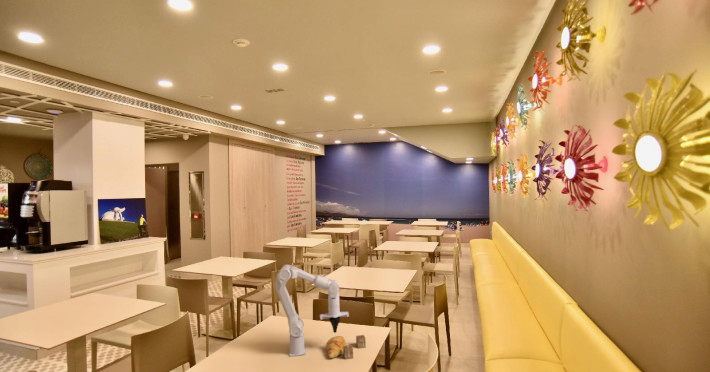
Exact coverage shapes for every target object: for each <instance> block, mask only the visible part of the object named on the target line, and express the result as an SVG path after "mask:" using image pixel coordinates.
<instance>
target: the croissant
mask: <svg viewBox="0 0 710 372" xmlns="http://www.w3.org/2000/svg"><path fill="white" fill-rule="evenodd" d="M346 343H347V342H346V340H345V338H344V337H343V336H341V335H337V336H334V337H331V338H329V339H328V340H327V342H326V344H325V346H326V351H327V354H328V357H329V359H334V358H337V357H339V356H340V355H342V354H344V352H343V346H345V345H347V344H346Z"/></svg>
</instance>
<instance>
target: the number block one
mask: <svg viewBox="0 0 710 372" xmlns="http://www.w3.org/2000/svg"><path fill="white" fill-rule="evenodd" d="M353 349H354V348H353V346H352V344H346V345H345V346H343V352H344V353H343V358H344V360H345V361H346V360H351V359H354V350H353Z"/></svg>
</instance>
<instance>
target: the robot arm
mask: <svg viewBox="0 0 710 372" xmlns="http://www.w3.org/2000/svg"><path fill="white" fill-rule="evenodd" d="M296 278H300V279H302V280H305V281H308V282H311V283H312V284H313V285H314V287H316V288H319V289H322V290H324V291H327V292H328V296H327V301H328V302H327V303H328V304H327V306H328V309H327V310H328V312H326V313H322V314H319V319H320V320H325V319H329V322H330V324H331V327H332V330H333V333H337V330H338V327H339V323H340V322H341V318H343V317H346V318H348V317H350V314H349V311H340V310H341V309H340V306H341V304H340V283H339V282H338V281H337V280H336V279H332V278H327V277H324V274H317V275H314V274H311V273H309V272H307V271H305V270H304V269H300V268H299V267H296V266H294V265H291V264H283V265H282V267H281V268H280V270H279V271H278V272H277V274H276V279H275V284H274V289H275V290H276V294H277V295H278V298H279V300H280V304H281V305H282V308H283V311H284V313H285V315H286V318H287V325H288V329H289V330H288V334H289V348H288V350H289V357H294V356H295V357H297V356H303V355H306V354H307V352H306V346H305V332H304V331H303V328H304V326H305V325H304V324H305V323H304V321H303V319H301V318H300V315H299V314H298V313H297V311H296V309H295V306H294V304H293V301H292V298H291V295H290V294H289V291H288V289H287V286H286V285H287V283H288V281H289V280H290V279H296Z"/></svg>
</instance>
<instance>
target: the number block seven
mask: <svg viewBox="0 0 710 372" xmlns="http://www.w3.org/2000/svg"><path fill="white" fill-rule="evenodd" d="M355 338H356V340H355V341H356V342H355V344H356V347H357V349H365V348H366V336H365V334H359V335H356V336H355Z"/></svg>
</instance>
